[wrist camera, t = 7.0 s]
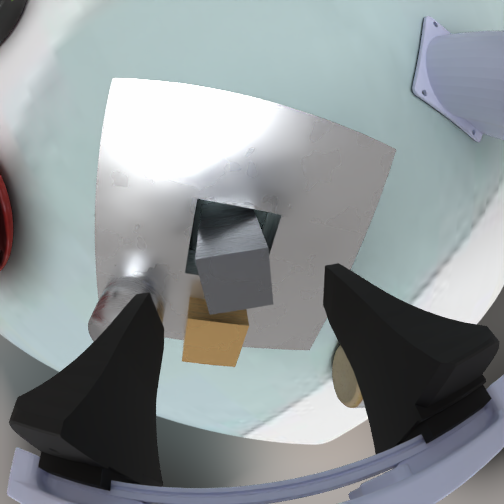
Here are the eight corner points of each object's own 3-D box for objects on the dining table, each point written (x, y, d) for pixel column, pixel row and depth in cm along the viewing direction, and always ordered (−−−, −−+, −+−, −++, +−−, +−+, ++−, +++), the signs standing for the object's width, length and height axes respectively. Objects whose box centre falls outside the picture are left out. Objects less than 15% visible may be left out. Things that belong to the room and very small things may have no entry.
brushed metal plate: (371, 142, 16) (428, 159, 11) (300, 325, 23) (319, 379, 18) (129, 83, 13) (87, 71, 7) (112, 300, 20) (90, 355, 14)
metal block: (248, 197, 17) (268, 247, 11) (253, 239, 19) (273, 304, 13) (201, 204, 17) (194, 259, 11) (210, 245, 18) (209, 314, 12)
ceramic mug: (339, 323, 24) (371, 389, 17) (406, 312, 25) (442, 365, 18) (316, 385, 29) (334, 439, 22) (374, 373, 30) (396, 420, 23)
